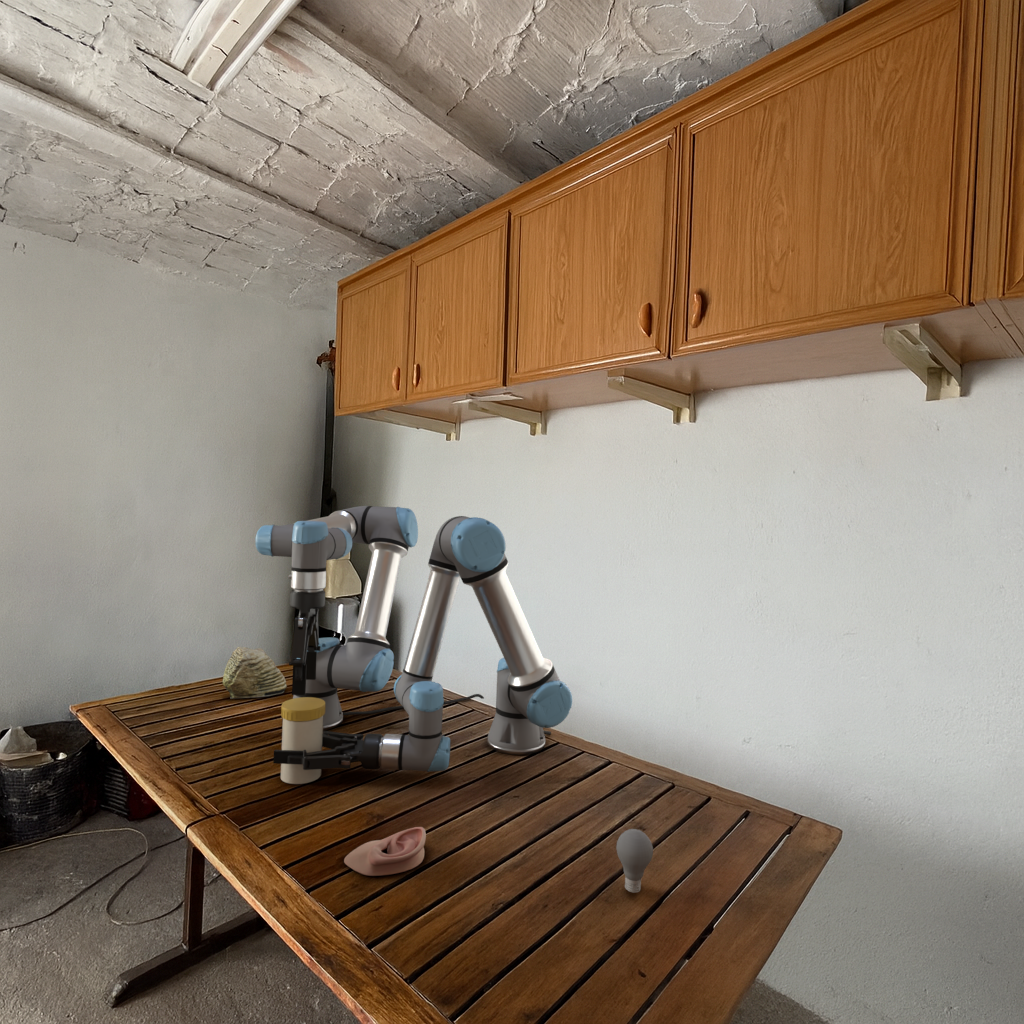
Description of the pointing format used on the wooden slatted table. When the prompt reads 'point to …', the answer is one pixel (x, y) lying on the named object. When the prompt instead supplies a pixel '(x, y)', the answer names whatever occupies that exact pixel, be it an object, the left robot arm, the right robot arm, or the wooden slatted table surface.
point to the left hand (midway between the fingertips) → (304, 686)
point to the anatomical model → (389, 853)
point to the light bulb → (634, 857)
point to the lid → (303, 709)
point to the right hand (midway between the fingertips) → (281, 748)
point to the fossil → (252, 674)
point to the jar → (301, 748)
